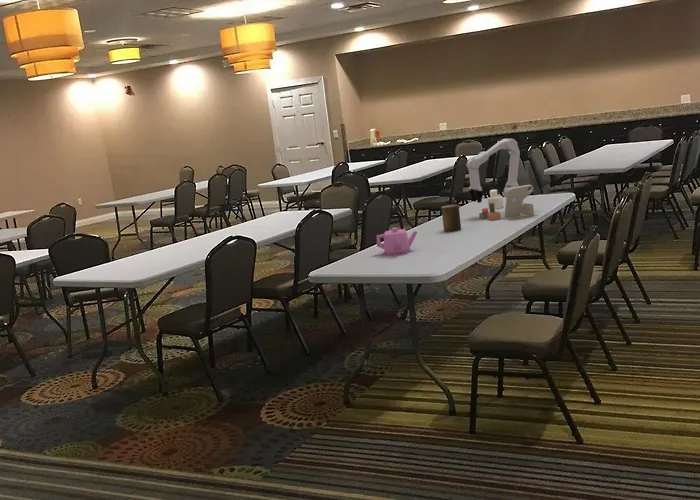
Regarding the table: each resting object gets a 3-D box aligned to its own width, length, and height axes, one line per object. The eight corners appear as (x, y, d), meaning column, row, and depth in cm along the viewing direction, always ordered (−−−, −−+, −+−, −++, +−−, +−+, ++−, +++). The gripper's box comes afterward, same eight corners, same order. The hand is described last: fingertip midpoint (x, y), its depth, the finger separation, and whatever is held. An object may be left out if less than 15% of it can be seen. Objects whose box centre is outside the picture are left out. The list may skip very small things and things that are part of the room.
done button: (486, 212, 432) (486, 208, 431) (489, 213, 429) (488, 208, 428) (481, 213, 431) (481, 208, 431) (483, 214, 428) (483, 209, 427)
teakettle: (396, 247, 376) (393, 224, 374) (421, 248, 364) (418, 224, 361) (373, 255, 365) (370, 231, 362) (398, 256, 352) (395, 231, 350)
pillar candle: (460, 230, 399) (458, 203, 397) (443, 232, 401) (440, 205, 399) (461, 227, 408) (459, 201, 406) (444, 229, 411) (441, 203, 408)
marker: (494, 215, 437) (492, 201, 435) (496, 215, 434) (495, 202, 432) (489, 215, 436) (487, 202, 435) (491, 216, 433) (490, 203, 432)
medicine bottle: (493, 207, 468) (491, 188, 466) (503, 206, 463) (501, 188, 461) (488, 209, 462) (486, 190, 460) (499, 208, 458) (497, 190, 456)
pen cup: (496, 218, 424) (496, 211, 423) (500, 219, 419) (500, 212, 418) (488, 219, 423) (487, 212, 422) (491, 220, 418) (491, 213, 417)
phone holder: (526, 213, 426) (524, 183, 423) (536, 215, 416) (533, 184, 413) (500, 218, 421) (497, 187, 418) (509, 220, 412) (506, 188, 408)
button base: (488, 216, 434) (487, 211, 433) (492, 217, 428) (491, 212, 428) (479, 218, 433) (479, 213, 432) (483, 219, 427) (482, 214, 427)
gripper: (463, 179, 436) (466, 202, 438) (473, 181, 422) (475, 204, 424) (474, 177, 437) (477, 200, 440) (484, 179, 423) (486, 202, 426)
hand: (477, 202), depth 432 cm, fingers open, 7 cm apart
